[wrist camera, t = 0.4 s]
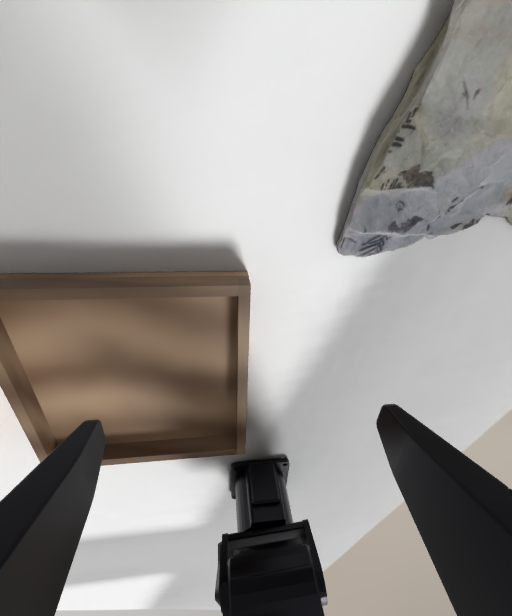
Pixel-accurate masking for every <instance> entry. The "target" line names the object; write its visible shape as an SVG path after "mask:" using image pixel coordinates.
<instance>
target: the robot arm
mask: <svg viewBox="0 0 512 616" xmlns="http://www.w3.org/2000/svg"><path fill="white" fill-rule="evenodd" d="M377 429H378V432H379V435H380V438H381V441H382V444H383V447H384V450H385V453H386V456H387V458H388V461H389V464H390V467H391V470H392V473H393V475H394V477H395V480H396V482H397V484H398V486H399V489H400V491H401V493H402V495H403V497H404V500H405V502H406V504H407V506H408V508H409V511H410V512H411V515H412V517H413V519H414V522H415V524H416V526H417V528H418V530H419V532H420V535H421V537H422V539H423V541H424V544H425V546H426V548H427V550H428V552H429V555H430V557H431V559H432V561H433V564H434V566H435V568H436V570H437V572H438V575H439V577H440V579H441V581H442V583H443V586H444V588H445V590H446V592H447V594H448V597H449V599H450V601H451V603H452V605H453V607H454V610H455V612H456V614H457V616H512V490H511V489H509V488H508V487H507V486H506V485H505V484H503V483H502V482H501V481H499V480H498V479H497V478H495V477H494V476H493V475H491V474H490V473H489V472H487V471H486V470H484V469H483V468H482V467H480V466H479V465H478V464H476V463H475V462H474V461H472V460H471V459H469V458H468V457H467V456H465V455H464V454H463V453H461V452H460V451H459V450H457V449H456V448H455V447H453V446H452V445H451V444H449V443H448V442H447V441H445V440H444V439H442V438H441V437H440V436H438V435H437V434H436V433H434V432H433V431H432V430H430V429H429V428H428V427H426V426H425V425H423V424H422V423H421V422H419V421H418V420H417V419H415V418H414V417H413V416H411V415H410V414H409V413H407V412H406V411H404V410H403V409H402V408H400V407H399V406H398V405H396V404H385V405H383V406H382V408H381V410H380V413H379V416H378V419H377ZM105 443H106V438H105V434H104V430H103V427H102V423H101V421H100V420H86V421H84V422H82V423H81V424H80V425H79V426H78V427H77V428H76V429H75V430H74V431H73V432H72V433H71V434H70V435H69V436H68V437H67V438H66V439H65V440H64V441H63V442H62V443H61V444H60V445H59V446H57V447H56V448H55V449H54V450H53V451H52V452H51V453H50V454H49V455H48V456H47V457H46V458H45V459H44V460H43V461H42V462H41V463H40V464H39V465H38V466H37V467H36V468H35V469H34V470H33V471H32V472H30V473H29V474H28V475H27V476H26V477H25V478H24V479H23V480H22V481H21V482H20V483H19V484H18V485H17V486H16V487H15V488H14V489H13V490H12V491H11V492H10V493H9V494H8V495H7V496H6V497H5V498H4V499H2V500H1V501H0V616H54V615H55V612H56V609H57V606H58V603H59V600H60V597H61V594H62V591H63V588H64V585H65V582H66V579H67V576H68V573H69V570H70V567H71V564H72V561H73V558H74V555H75V552H76V549H77V546H78V543H79V540H80V537H81V534H82V531H83V528H84V525H85V522H86V519H87V516H88V513H89V510H90V507H91V504H92V501H93V497H94V493H95V489H96V485H97V480H98V476H99V471H100V466H101V462H102V457H103V453H104V448H105ZM288 470H289V460H288V459H274V460H263V461H251V462H240V463H233V464H232V465H231V496H232V498H233V499H236V510H237V527H238V533H233V534H228V533H226V534H222V542H220V543H219V544H218V570H217V579H216V588H215V600H216V602H217V603H218V604H219V605H220V606H221V612H222V613H223V616H324V613H323V608H322V606H324V605H327V593H326V587H325V581H324V577H323V572H322V568H321V564H320V560H319V557H318V553H317V550H316V546H315V543H314V539H313V536H312V532H311V529H310V525H309V522H308V519H307V520H302V521H301V522H296V523H293V520H292V515H291V510H290V505H289V500H288V495H287V490H286V483H287V476H288Z"/></svg>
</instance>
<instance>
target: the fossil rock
mask: <svg viewBox="0 0 512 616" xmlns="http://www.w3.org/2000/svg"><path fill="white" fill-rule="evenodd" d="M485 215H490V216H493V217H502V218H505V219H506V220H507V221H508V223H509V224H510V225H512V0H454V3H453V6H452V8H451V11H450V13H449V15H448V18H447V20H446V22H445V24H444V26H443V27H442V29H441V31H440V32H439V34H438V35H437V37H436V39H435V41H434V42H433V44H432V45H431V46H430V48H429V49H428V51H427V52H426V54H425V55H424V57H423V58H422V60H421V61H420V63H419V64H418V65H417V67H416V68H415V70H414V73H413V76H412V79H411V81H410V84H409V86H408V88H407V91H406V93H405V95H404V97H403V99H402V101H401V102H400V104H399V105H398V107H397V109H396V111H395V113H394V115H393V116H392V118H391V119H390V121H389V122H388V124H387V125H386V126H385V128H384V129H383V131H382V133H381V135H380V137H379V139H378V141H377V143H376V145H375V147H374V149H373V151H372V153H371V155H370V158H369V160H368V162H367V165H366V167H365V170H364V172H363V174H362V176H361V178H360V180H359V183H358V187H357V191H356V194H355V196H354V199H353V201H352V204H351V207H350V210H349V213H348V216H347V219H346V222H345V225H344V227H343V230H342V233H341V235H340V237H339V239H338V241H337V247H336V248H337V251H338V253H340V254H341V255H354V256H356V257H367V256H370V255H374V254H378V253H382V252H386V251H394V250H396V249H399V248H403V247H407V246H409V245H411V244H413V243H415V242H417V241H419V240H420V239H422V238H428V239H433V238H435V237H437V236H441V235H448V234H453V233H456V232H458V231H461V230H464V229H466V228H468V227H471V226H473V225H475V224H477V223H478V222H479V221H480V220H481V219H482V218H483V217H484V216H485Z"/></svg>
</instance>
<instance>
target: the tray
mask: <svg viewBox="0 0 512 616" xmlns="http://www.w3.org/2000/svg"><path fill="white" fill-rule="evenodd" d="M250 289H251V285H250V280H249V276H248V272H247V271H213V272H120V273H27V274H0V386H1V388H2V390H3V392H4V394H5V396H6V397H7V399H8V401H9V403H10V405H11V407H12V409H13V411H14V413H15V415H16V417H17V419H18V420H19V422H20V424H21V426H22V428H23V430H24V432H25V434H26V436H27V438H28V440H29V442H30V443H31V445H32V447H33V449H34V451H35V453H36V455H37V457H38V459H39V461H40V463H41V462H42V461H43V460H44V459H45V458H46V457H47V456H48V455H49V454H50V453H51V452H52V451H53V450H54V449H55V448H56V447H57V446H59V445H60V444H61V443H62V442H63V441H64V440H65V439H66V438H67V437H68V436H69V435H70V434H71V433H72V432H73V431H74V430H75V429H76V428H77V427H78V426H79V425H80V424H81V423H82V422H84V421H86V420H100V421H101V423H102V427H103V430H104V434H105V438H106V443H105V448H104V453H103V457H102V462H101V466H103V465H114V464H126V463H138V462H150V461H162V460H174V459H186V458H198V457H210V456H222V455H234V454H245V443H246V412H247V382H248V351H249V320H250Z"/></svg>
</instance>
